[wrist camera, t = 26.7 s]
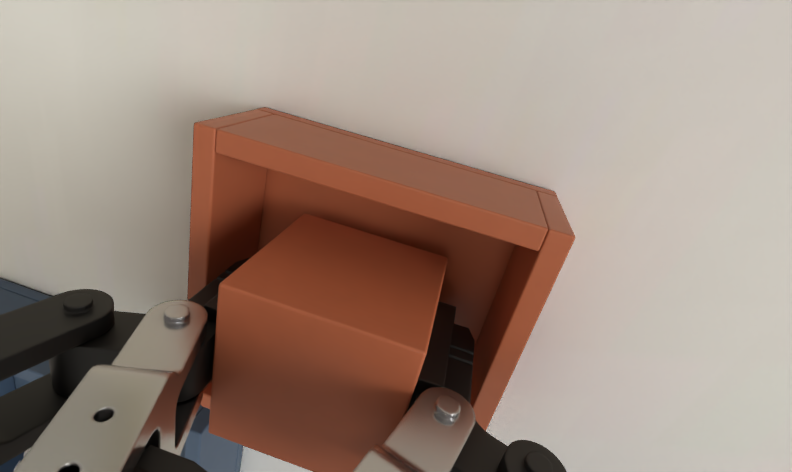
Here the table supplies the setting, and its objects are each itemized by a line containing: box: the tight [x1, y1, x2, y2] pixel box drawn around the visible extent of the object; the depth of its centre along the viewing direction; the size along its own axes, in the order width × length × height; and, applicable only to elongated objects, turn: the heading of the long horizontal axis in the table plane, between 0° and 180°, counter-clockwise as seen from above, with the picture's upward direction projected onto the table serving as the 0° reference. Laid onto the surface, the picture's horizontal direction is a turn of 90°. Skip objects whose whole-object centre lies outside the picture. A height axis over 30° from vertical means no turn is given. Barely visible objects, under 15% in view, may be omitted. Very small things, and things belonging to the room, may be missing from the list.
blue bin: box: [0, 278, 243, 472], centre depth 19 cm, size 12×10×4 cm
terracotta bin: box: [187, 107, 575, 431], centre depth 13 cm, size 9×9×4 cm
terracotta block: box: [209, 214, 448, 472], centre depth 12 cm, size 4×4×4 cm
